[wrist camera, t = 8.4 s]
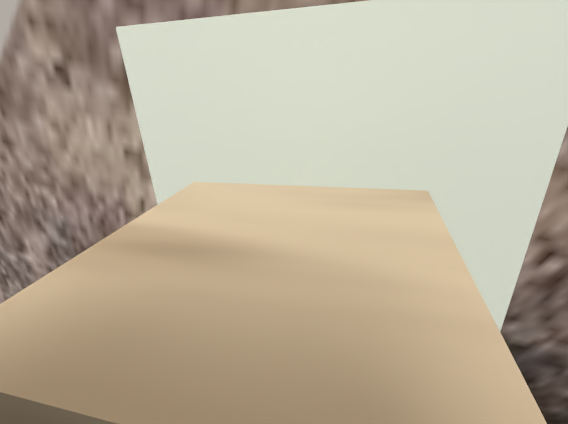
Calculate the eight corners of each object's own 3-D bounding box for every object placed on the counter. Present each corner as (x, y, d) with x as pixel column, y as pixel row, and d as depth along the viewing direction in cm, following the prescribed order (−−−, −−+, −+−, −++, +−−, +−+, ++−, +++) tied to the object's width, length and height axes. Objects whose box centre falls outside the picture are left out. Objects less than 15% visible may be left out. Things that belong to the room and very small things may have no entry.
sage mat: (477, 367, 14) (483, 382, 14) (194, 321, 18) (187, 332, 17) (595, -18, 8) (617, -26, 8) (130, 29, 12) (115, 27, 11)
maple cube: (399, 372, 9) (440, 753, 4) (222, 341, 11) (84, 595, 6) (428, 190, 7) (613, 556, 2) (194, 181, 8) (-98, 365, 3)
